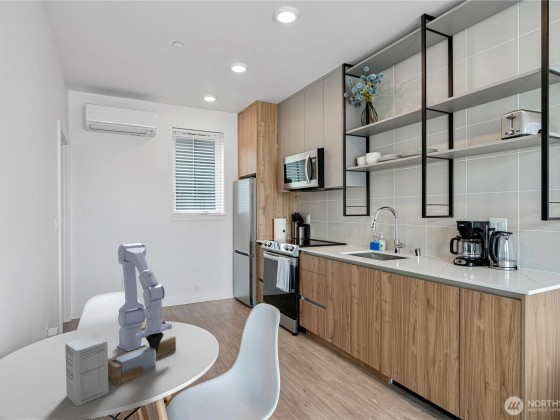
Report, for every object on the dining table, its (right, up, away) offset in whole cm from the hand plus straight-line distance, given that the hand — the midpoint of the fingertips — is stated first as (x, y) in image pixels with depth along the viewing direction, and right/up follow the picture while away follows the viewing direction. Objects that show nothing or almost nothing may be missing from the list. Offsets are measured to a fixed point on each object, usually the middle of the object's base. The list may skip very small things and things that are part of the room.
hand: (154, 352), depth 129 cm
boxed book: (-4, -4, -7) cm, 9 cm away
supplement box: (-13, -4, -23) cm, 26 cm away
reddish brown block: (-16, -4, +33) cm, 37 cm away
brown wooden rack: (-2, -4, -2) cm, 4 cm away
